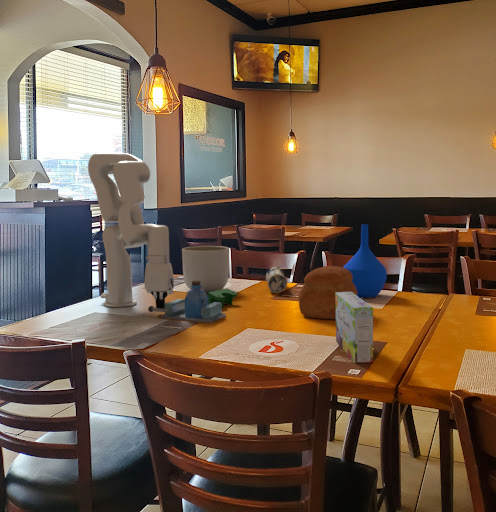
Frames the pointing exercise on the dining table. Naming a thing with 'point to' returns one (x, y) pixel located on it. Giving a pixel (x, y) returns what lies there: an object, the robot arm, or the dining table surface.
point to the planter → (206, 266)
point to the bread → (324, 291)
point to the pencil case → (276, 280)
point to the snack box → (354, 327)
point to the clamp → (222, 296)
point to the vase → (366, 269)
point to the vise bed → (190, 318)
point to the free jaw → (170, 307)
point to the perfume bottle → (195, 300)
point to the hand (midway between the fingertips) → (160, 309)
